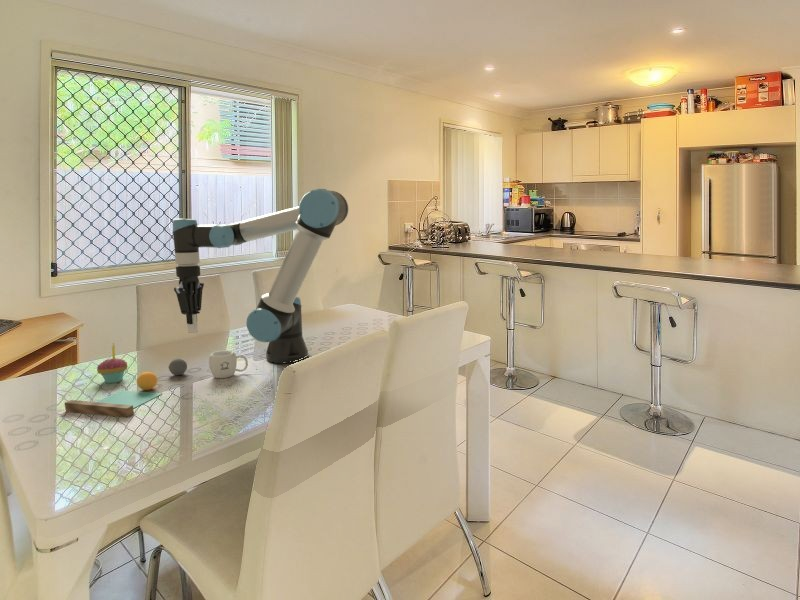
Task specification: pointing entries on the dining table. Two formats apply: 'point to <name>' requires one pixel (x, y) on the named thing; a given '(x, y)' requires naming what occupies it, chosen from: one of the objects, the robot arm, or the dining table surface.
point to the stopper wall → (99, 408)
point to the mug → (224, 363)
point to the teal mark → (130, 398)
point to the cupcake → (112, 368)
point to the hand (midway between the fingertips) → (192, 332)
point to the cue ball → (178, 366)
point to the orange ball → (147, 380)
